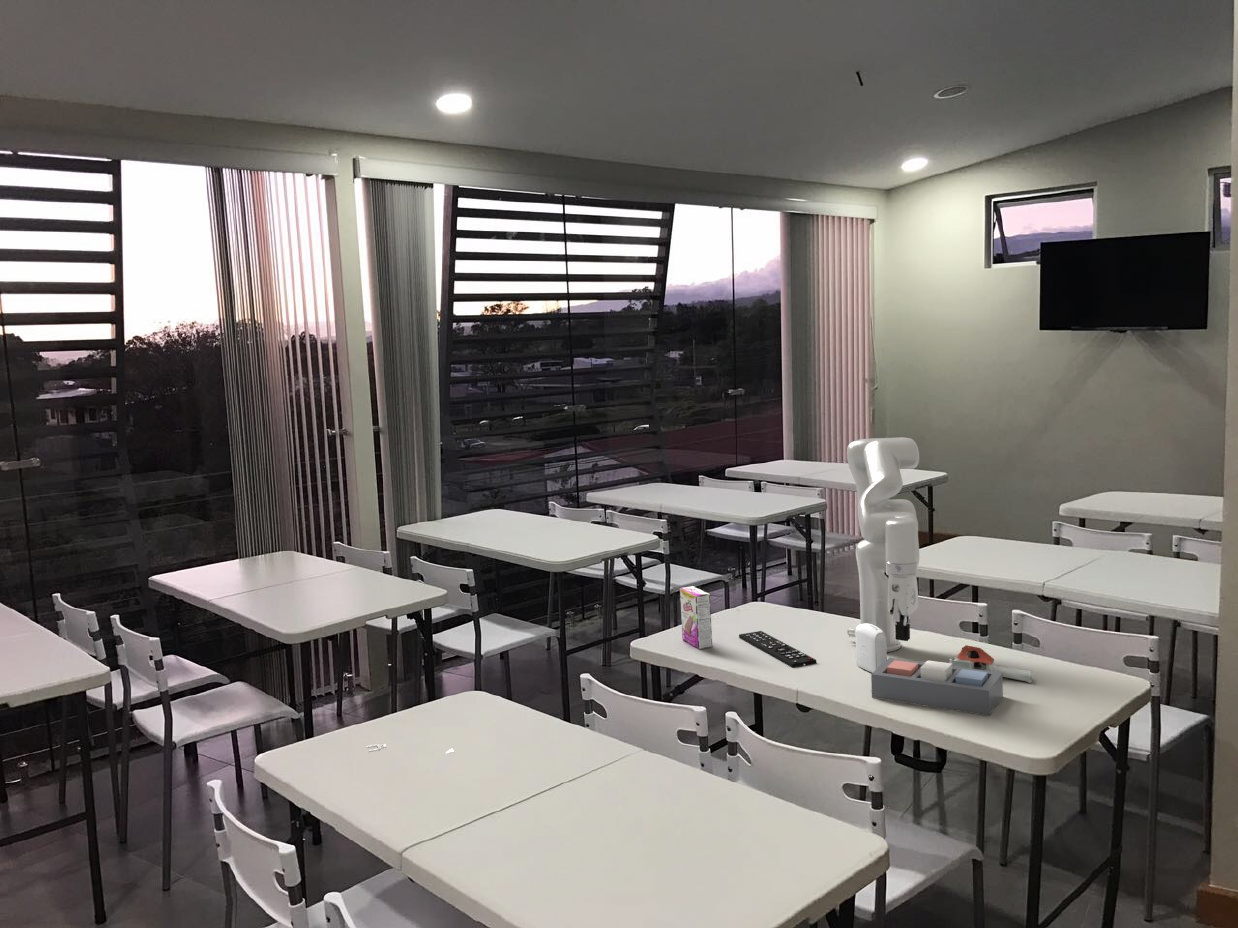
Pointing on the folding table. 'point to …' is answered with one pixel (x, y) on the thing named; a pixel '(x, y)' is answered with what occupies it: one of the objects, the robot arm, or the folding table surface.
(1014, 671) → the tape dispenser
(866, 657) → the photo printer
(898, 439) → the robot arm
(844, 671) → the folding table surface
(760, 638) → the remote control
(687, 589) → the candy bar box
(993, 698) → the key panel
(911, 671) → the red key
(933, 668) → the white key
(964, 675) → the blue key
